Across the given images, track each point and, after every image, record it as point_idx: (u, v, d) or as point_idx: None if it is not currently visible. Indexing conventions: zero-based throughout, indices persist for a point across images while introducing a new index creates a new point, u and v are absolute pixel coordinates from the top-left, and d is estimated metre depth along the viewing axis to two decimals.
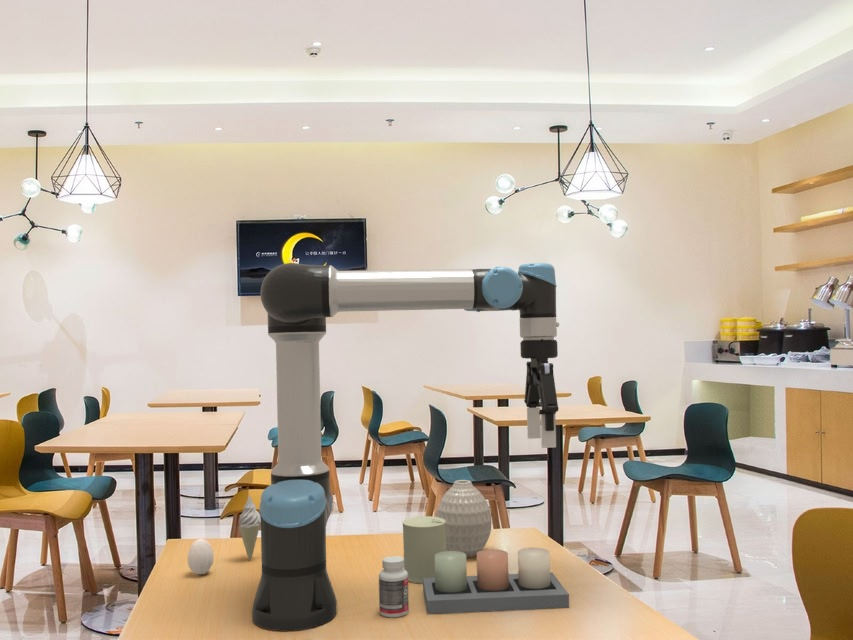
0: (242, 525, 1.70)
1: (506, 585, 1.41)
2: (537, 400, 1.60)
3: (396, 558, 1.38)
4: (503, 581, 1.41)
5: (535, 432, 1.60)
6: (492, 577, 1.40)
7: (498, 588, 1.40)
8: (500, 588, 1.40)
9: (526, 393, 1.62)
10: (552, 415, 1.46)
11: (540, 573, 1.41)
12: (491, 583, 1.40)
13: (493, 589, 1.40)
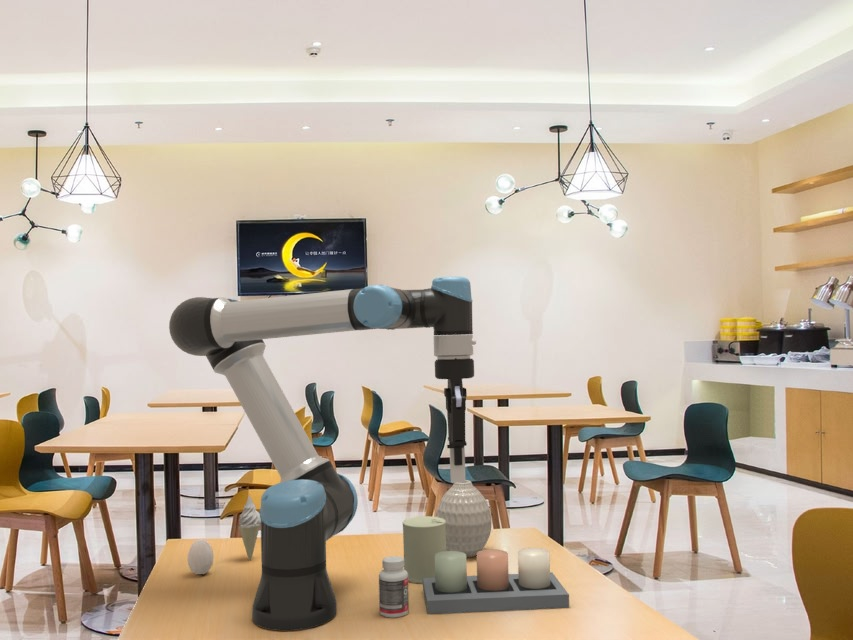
0: (242, 525, 1.70)
1: (506, 585, 1.41)
2: None
3: (396, 558, 1.38)
4: (503, 581, 1.41)
5: None
6: (492, 577, 1.40)
7: (498, 588, 1.40)
8: (500, 588, 1.40)
9: (448, 427, 1.46)
10: (460, 449, 1.41)
11: (540, 573, 1.41)
12: (491, 583, 1.40)
13: (493, 589, 1.40)
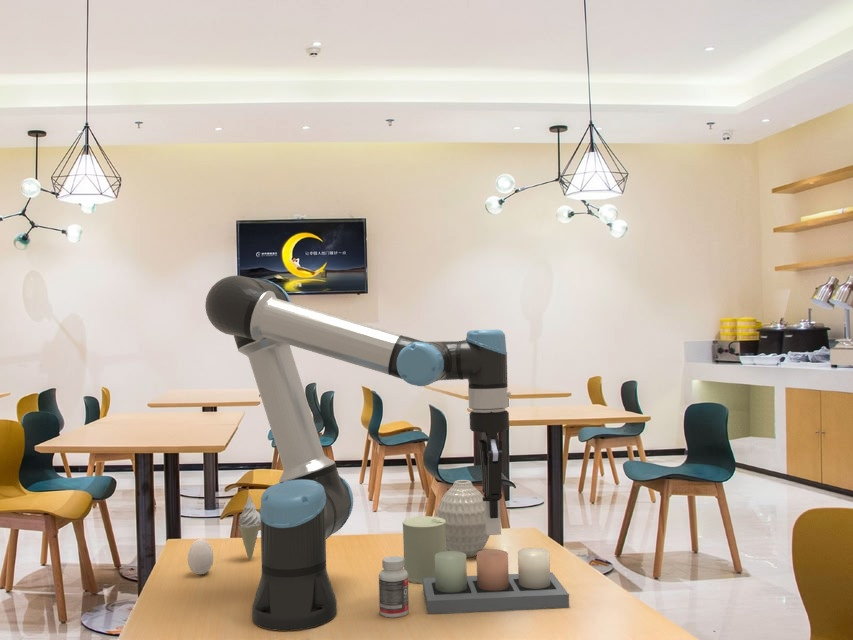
0: (242, 525, 1.70)
1: (506, 585, 1.41)
2: None
3: (396, 558, 1.38)
4: (503, 581, 1.41)
5: None
6: (492, 577, 1.40)
7: (498, 588, 1.40)
8: (500, 588, 1.40)
9: (483, 478, 1.47)
10: (496, 502, 1.42)
11: (540, 573, 1.41)
12: (491, 583, 1.40)
13: (493, 589, 1.40)
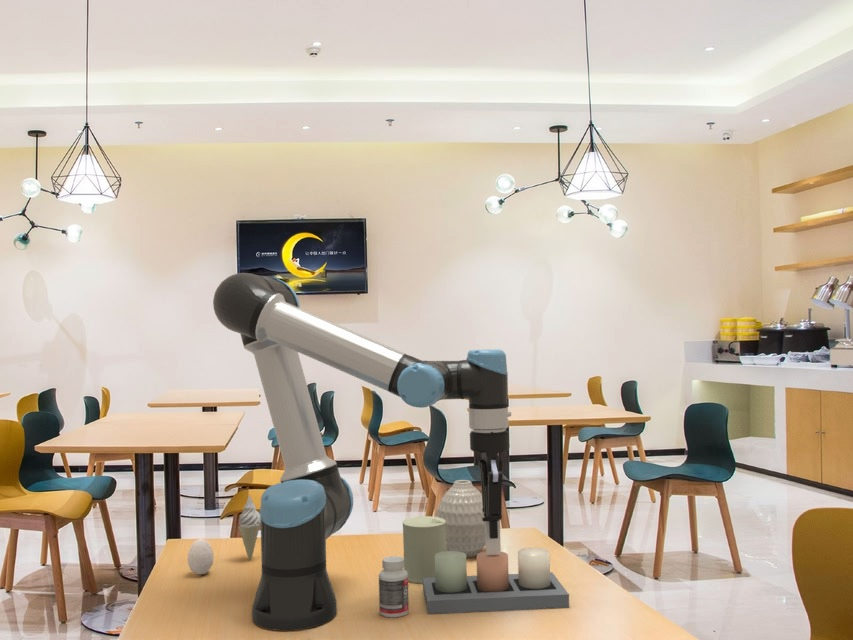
0: (242, 525, 1.70)
1: (506, 587, 1.41)
2: None
3: (396, 558, 1.38)
4: (503, 583, 1.41)
5: None
6: (492, 578, 1.40)
7: (498, 590, 1.40)
8: (500, 590, 1.40)
9: (483, 498, 1.46)
10: (496, 522, 1.42)
11: (540, 573, 1.41)
12: (491, 584, 1.40)
13: (493, 591, 1.40)
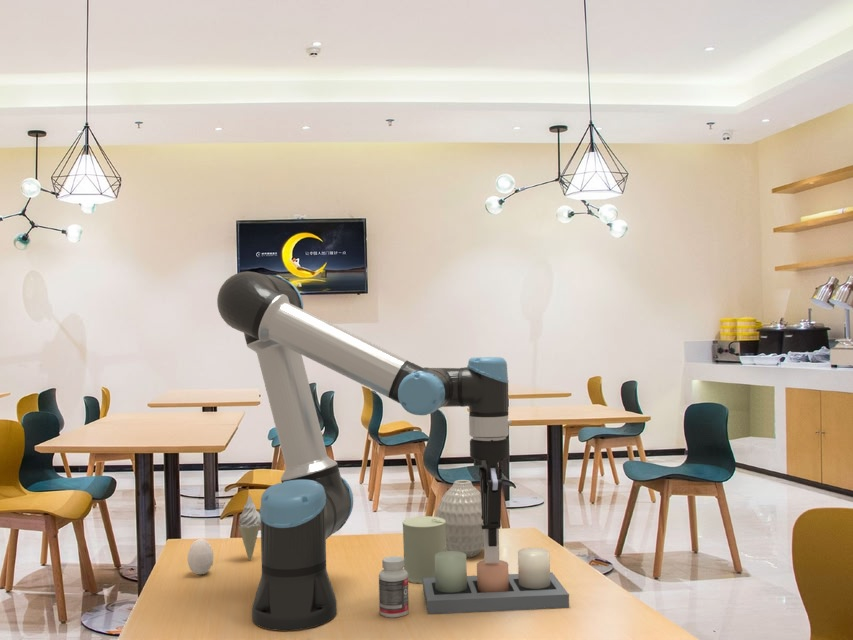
0: (242, 525, 1.70)
1: None
2: None
3: (396, 558, 1.38)
4: None
5: None
6: (492, 588, 1.40)
7: None
8: None
9: (482, 505, 1.46)
10: (495, 530, 1.42)
11: (540, 573, 1.41)
12: None
13: None
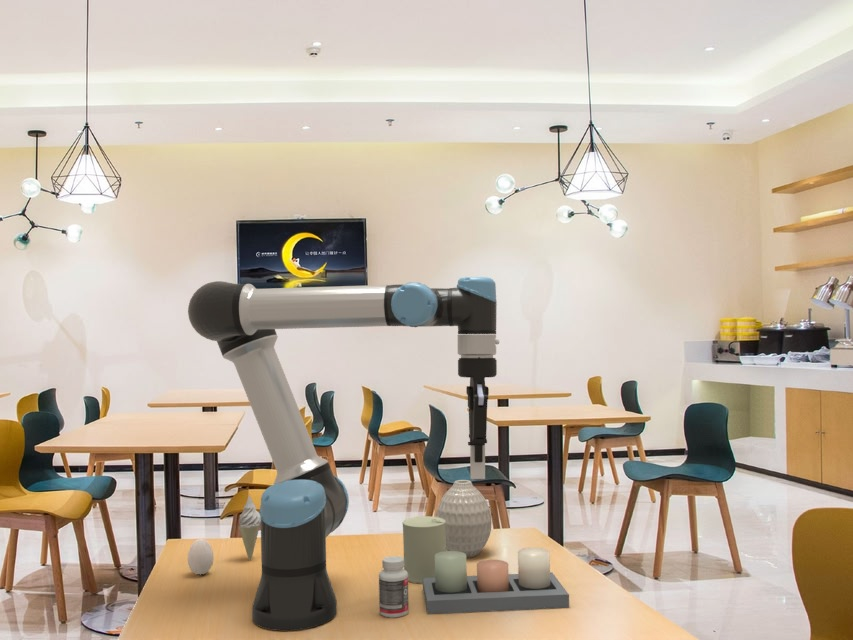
0: (242, 525, 1.70)
1: None
2: None
3: (396, 558, 1.38)
4: None
5: None
6: (492, 588, 1.40)
7: None
8: None
9: (469, 424, 1.49)
10: (481, 446, 1.44)
11: (540, 573, 1.41)
12: None
13: None
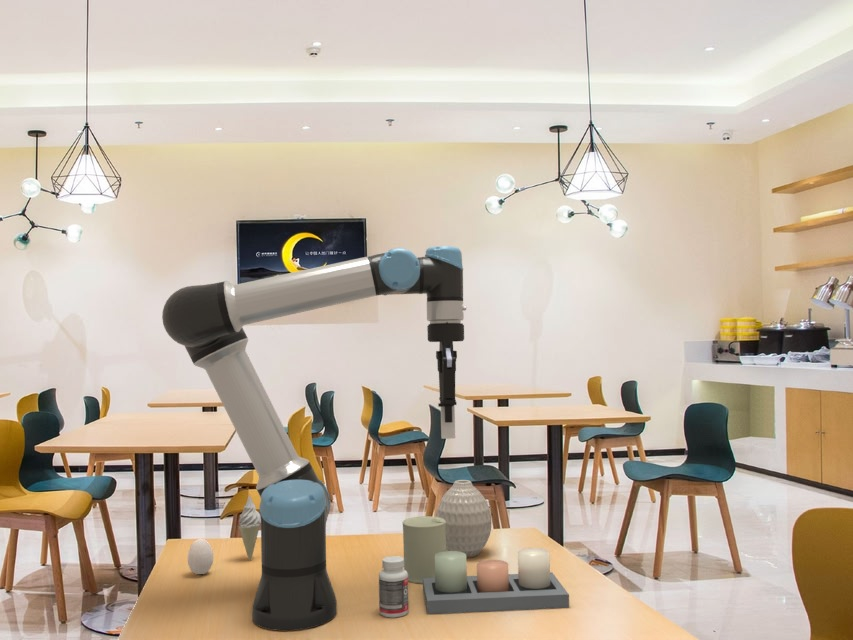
0: (242, 525, 1.70)
1: None
2: None
3: (396, 558, 1.38)
4: None
5: None
6: (492, 588, 1.40)
7: None
8: None
9: None
10: (450, 407, 1.52)
11: (540, 573, 1.41)
12: None
13: None
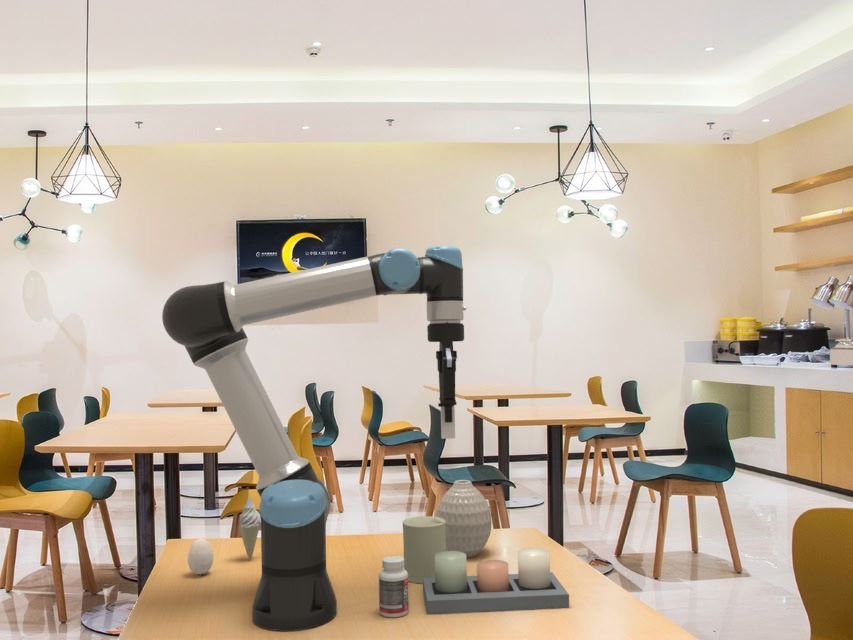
0: (242, 525, 1.70)
1: None
2: None
3: (396, 558, 1.38)
4: None
5: None
6: (492, 588, 1.40)
7: None
8: None
9: None
10: (450, 407, 1.52)
11: (540, 573, 1.41)
12: None
13: None
